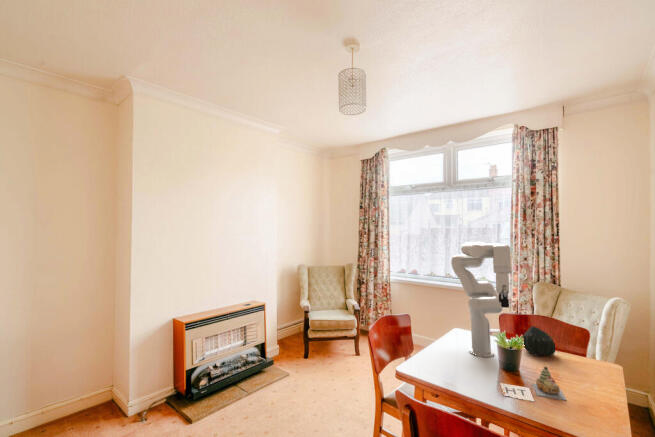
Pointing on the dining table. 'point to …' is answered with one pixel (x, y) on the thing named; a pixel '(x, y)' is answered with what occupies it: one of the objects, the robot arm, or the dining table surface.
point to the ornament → (547, 382)
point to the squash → (538, 342)
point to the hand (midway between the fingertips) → (503, 304)
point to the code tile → (517, 392)
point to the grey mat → (543, 394)
